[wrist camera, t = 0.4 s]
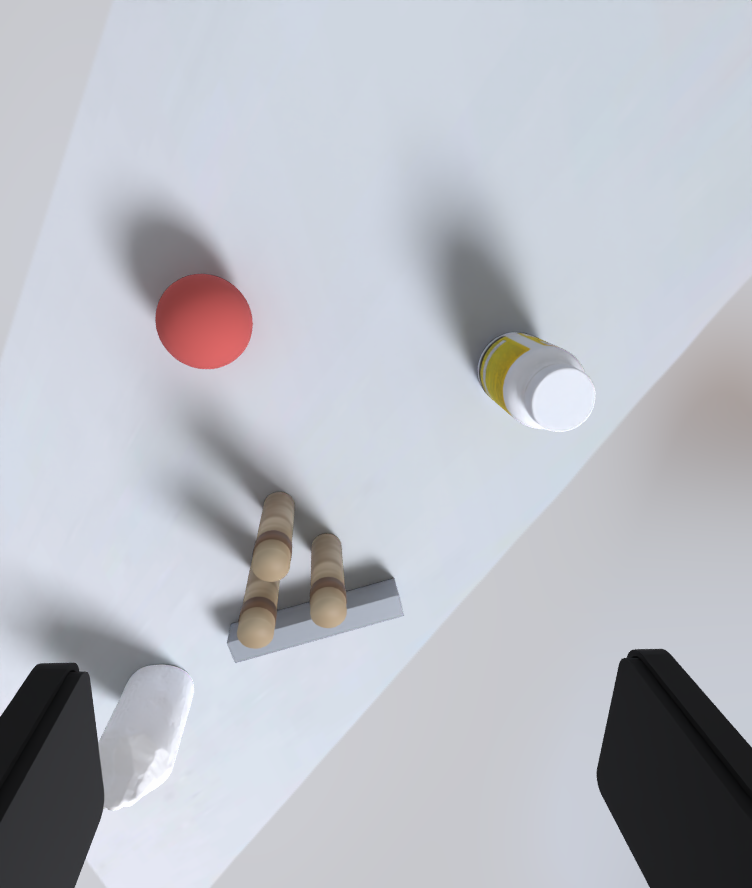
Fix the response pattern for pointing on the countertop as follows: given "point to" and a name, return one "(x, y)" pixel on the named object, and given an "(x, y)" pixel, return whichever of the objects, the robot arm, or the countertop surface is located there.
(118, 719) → the white pointed column
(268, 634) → the pin
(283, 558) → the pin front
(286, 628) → the stopper wall
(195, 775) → the countertop surface
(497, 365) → the supplement bottle
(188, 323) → the ball
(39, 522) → the countertop surface
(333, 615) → the pin
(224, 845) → the countertop surface
